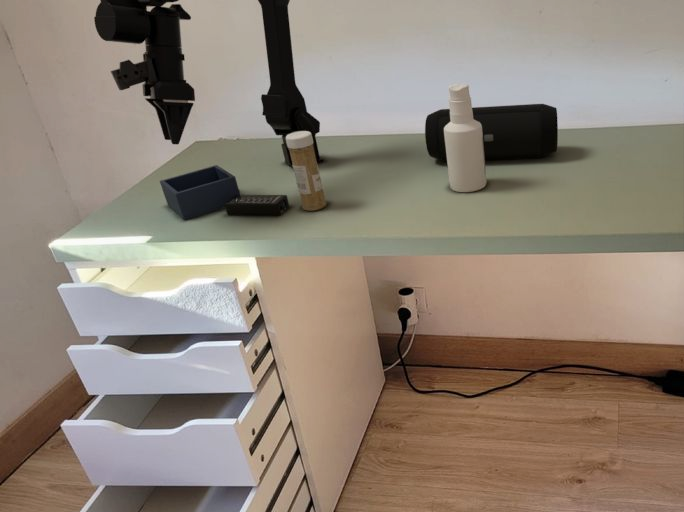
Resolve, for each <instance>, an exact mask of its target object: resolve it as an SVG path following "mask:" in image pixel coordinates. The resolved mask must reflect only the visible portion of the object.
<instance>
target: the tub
mask: <svg viewBox="0 0 684 512" xmlns="http://www.w3.org/2000/svg"><path fill="white" fill-rule="evenodd" d="M159 183H160V186H161V189H162V192H163V196H164V199H165V201H166V204H167V206H168V207H169V208H170V209H171V210H172V211H173V212H175V213H176V215H178V216H179V217H180V218H181V219H182V220H183V221H186V220H189V219H192V218H195V217H196V218H197V217H199V216H202V215H206V214H208V213H211V212H215V211H218V210H221V209H224V208H225V205H224V203H225V202H227V201H228V200H229V199H231V198H232V197H233V196H235V195H241V191H240V189H239V185H238V181H237V178H236V176H234V175H233V174H232V173H230V172H229V171H227V170H225V169H224V168H222V167H221V166H219V165H218V164H215V165H212V166H208V167H204V168H201V169H197V170H194V171H190V172H186V173H183V174H179V175H176V176H172V177H169V178H166V179H162V180H159ZM225 209H226V208H225Z"/></svg>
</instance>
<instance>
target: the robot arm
mask: <svg viewBox="0 0 684 512" xmlns="http://www.w3.org/2000/svg"><path fill="white" fill-rule="evenodd" d="M178 1H180V0H100V2H99V4H98V5H97V7H96V9H95V16H93V17H94V18H93V19H94V21H93V22H94V26H95V29H96V32H97V34H98V35H99V37H100V38H101V39H102V40H103V41H105V42H113V43H122V44H123V43H124V44H134V45H141V44H143V43H144V46H145V51H144V53H142V58H143V59H142V61H139V62H136V63H133V62H132V61H131V60H130V59H127V60H123V61H120V62H119V68H115V69H113V70H110V73H111V75H112V77H113V80H114V82H115V84H116V86H117V88H118V90H119V91H125V90H127V89H130V88H131V87H132V86H136V85H139V84H142V85H141V86H142V96H143V97H145V98H144V100H145V101H146V102H147V103H148V104H150V105H151V106H152V107H153V108H154V109H155V112H156V115H157V119H158V121H159V125H160V128H161V132H162V135H163V138H164V140H166V141H170V142H171V145H179V144H180V142H181V139H182V137H183V134H184V130H185V128H186V125H187V122H188V119H189V117H190V114H191V111H192V108H193V107H194V102H196V94H195V88H194V87H193V86H192V85H191V84H190V83H189V82H187V79H185V73H184V72H185V71H184V62H185V61H186V60H185V53H183V47H182V32H181V21H190V20H191V19H192V16H191V15H190V13H188V11H186V10H185V9H184V8H183V7H182V4H180V3H176V2H178ZM290 1H291V0H257V2H258V3H259V5H260V8H261V14H262V15H261V16H262V22H263V30H264V40H265V49H266V57H267V65H268V75H269V88H268V90H267V93H266V94H261V96H260V100H261V104H262V113H261V114H262V116H264V119H265V121H266V123H267V124H268V125H269V126H270V128H271V129H272V130H273V132H274V133H275V135H276V136H281V139H282V143H281V150H282V153H283V157H284V163H285V164H287V165H288V166H290V167H292V168H293V165H292V160H291V155H290V151H289V149H288V147H287V143H286V136H287V135H288V134H290V133H293V132H298V131H309V132H311V134H312V138H313V148H314V152H315V157H316V161H317V164H318V163H321V162H324V158H323V157H321V155H320V152H319V147H318V142H317V138H316V136H317V134H318V133H320V132H321V131H320V130H321V122H320V121H319V119H317V118H316V117H314V116H313V115H312V114H311V113H309V111H308V108H307V105H306V101H305V97H304V96H303V94H302V92H301V91H300V89H299V88H298V86H297V83H296V77H295V76H296V75H295V67H294V56H293V47H292V35H291V27H290V16H289V4H290ZM167 3H171V5H170V6H169V7H166V6H164V5H166V4H167ZM149 7H150V8H151V9H150V11H149V10H148V8H149ZM147 97H149V98H147Z"/></svg>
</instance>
